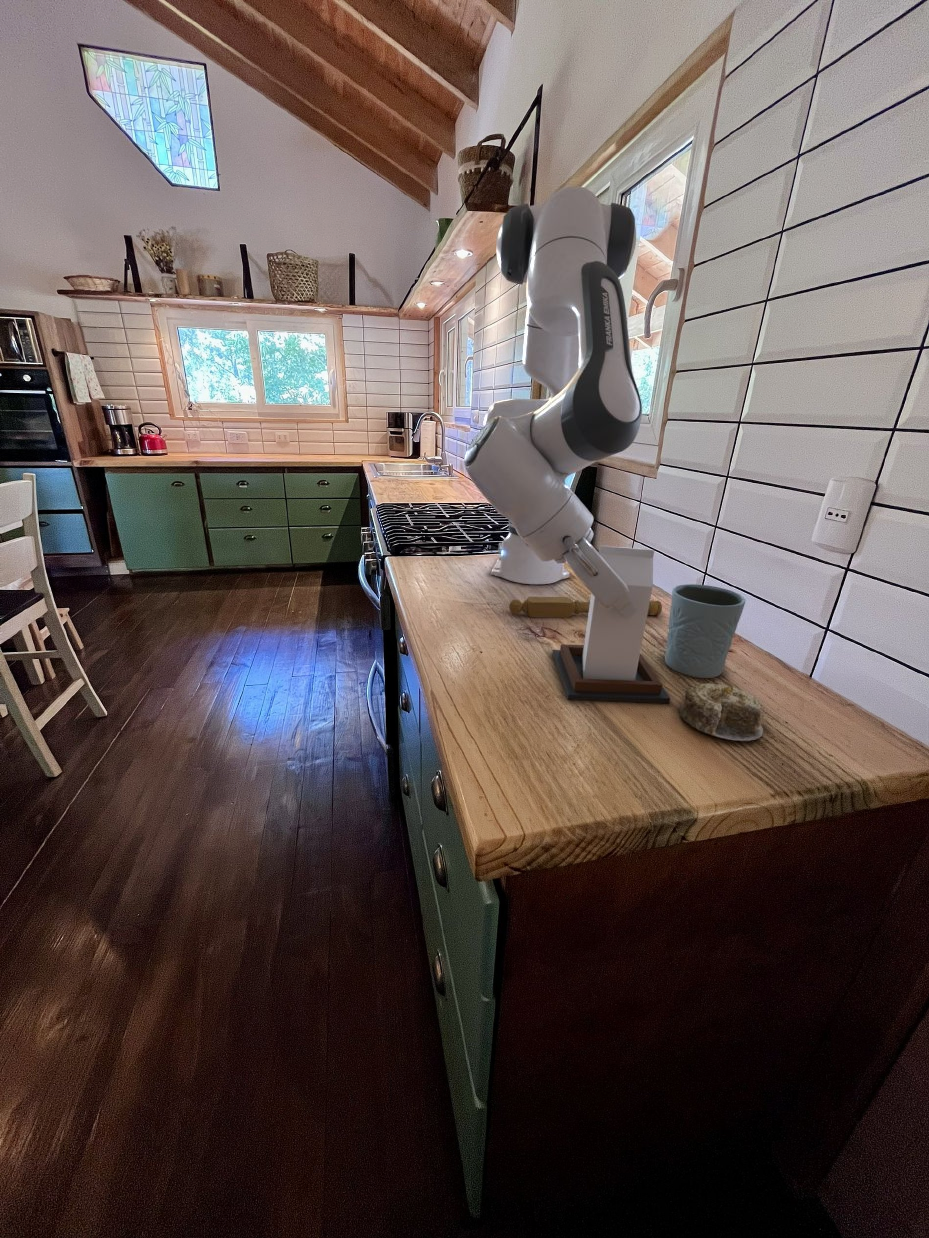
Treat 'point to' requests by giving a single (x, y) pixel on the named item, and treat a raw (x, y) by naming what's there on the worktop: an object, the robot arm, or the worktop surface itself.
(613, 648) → the milk carton
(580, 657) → the shallow square tray
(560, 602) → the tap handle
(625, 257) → the robot arm
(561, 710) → the worktop surface
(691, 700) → the cake
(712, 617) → the blue plant pot
